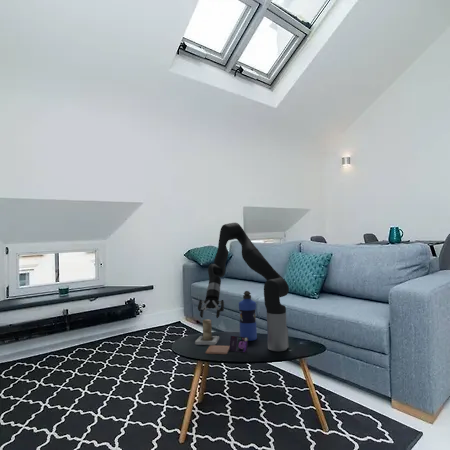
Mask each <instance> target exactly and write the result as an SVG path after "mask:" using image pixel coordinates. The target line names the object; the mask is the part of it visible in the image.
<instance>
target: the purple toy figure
mask: <svg viewBox="0 0 450 450" xmlns="http://www.w3.org/2000/svg"><path fill="white" fill-rule="evenodd" d="M244 338H245V339H244ZM238 339H239V342H238ZM241 339H242V340H241ZM243 340H245V341H243ZM237 343H238V344H237ZM237 345H238V347H237ZM248 345H249V341H248V338H247V337H240V336H237V335H236V336H235V335H230V340H229V346H230V348H229V351H231V352H238V353H248ZM237 348H239V350H237ZM229 351H228V352H229Z"/></svg>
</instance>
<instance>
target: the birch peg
mask: <svg viewBox="0 0 450 450" xmlns="http://www.w3.org/2000/svg"><path fill="white" fill-rule="evenodd" d="M212 328H213V327H212V319H206V318H205V319H202V336H203V340H202V341H212V336H213V335H212V334H213V332H212V330H213V329H212Z"/></svg>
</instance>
